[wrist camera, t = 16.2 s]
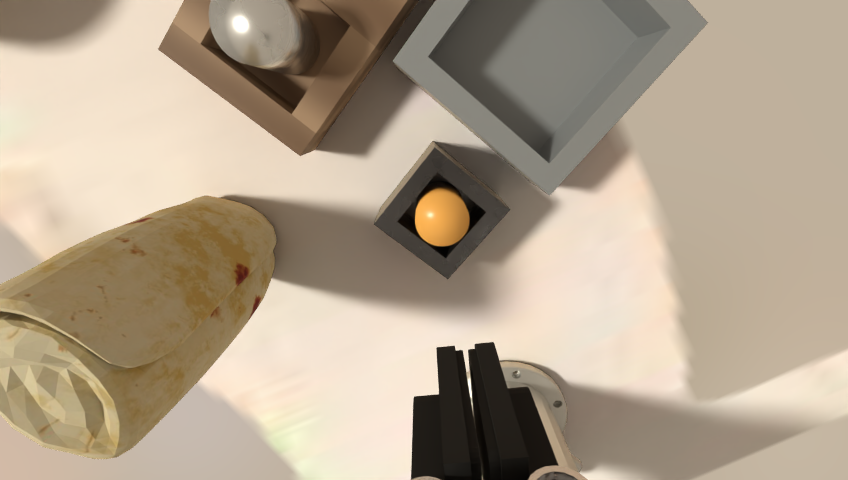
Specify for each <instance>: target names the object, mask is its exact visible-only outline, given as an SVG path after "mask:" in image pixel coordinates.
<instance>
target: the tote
mask: <svg viewBox="0 0 848 480" xmlns="http://www.w3.org/2000/svg"><path fill="white" fill-rule="evenodd" d="M706 24H707V21H706V20H705V19H704V18H703V17H702V16H701V15H700V14H699V13H698V11H697V10H696V9H695V8H694V7H693V6H692V5H691V4H690V2H689V1H688V0H436V1H435V2H434V3H433V5H432V6H431V8H430V9H429V10H428V12H427V13H426V15H425V16H424V17H423V19H422V20H421V22H420V23H419V24H418V26H417V27H416V29H415V30H414V32H413V33H412V34H411V36H410V37H409V39H408V40H407V41H406V43H405V44H404V46H403V47H402V48H401V50H400V51H399V53H398V54H397V55H396V57H395V58H394V60H393V62H394V64H395V65H396V67H397V68H398V69H399V70H400V71H401V72H402V73H404V74H405V75H406V76H407V77H408V78H410V79H411V80H412V81H413V82H414V83H415V84H417V85H418V86H419V87H420V88H421V89H422V90H424V91H425V92H426V93H427V94H428V95H429V96H431V97H432V98H433V99H434V100H435V101H436V102H438V103H439V104H440V105H441V106H442V107H443V108H445V109H446V110H447V111H448V112H449V113H450V114H452V115H453V116H454V117H455V118H456V119H457V120H459V121H460V122H461V123H462V124H463V125H464V126H466V127H467V128H468V129H469V130H470V131H471V132H473V133H474V134H475V135H476V136H477V137H478V138H480V139H481V140H482V141H483V142H484V143H485V144H487V145H488V146H489V147H490V148H491V149H492V150H494V151H495V152H496V153H497V154H498V155H499V156H501V157H502V158H503V159H504V160H505V161H507V162H508V163H509V164H510V165H511V166H512V167H514V168H515V169H516V170H517V171H518V172H519V173H521V174H522V175H523V176H524V177H525V178H526V179H528V180H529V181H530V182H531V183H532V184H534V185H535V186H537V187H538V188H540V189H541V190H542V191H544V192H545V193H547V194H548V195H551V193H552V192H553V191H554V190H555V189H556V188H557V187H558V186H559V185H560V184H561V183H562V181H563V180H564V179H565V178H566V177H567V176H568V175H569V174H570V173H571V172H572V171H573V169H574V168H575V167H576V166H577V165H578V164H579V163H580V162H581V161H582V160H583V159H584V157H585V156H586V155H587V154H588V153H589V152H590V151H591V150H592V149H593V148H594V147H595V145H596V144H597V143H598V142H599V141H600V140H601V139H602V138H603V137H604V136H605V135H606V133H607V132H608V131H609V130H610V129H611V128H612V127H613V126H614V125H615V124H616V123H617V121H618V120H619V119H620V118H621V117H622V116H623V115H624V114H625V113H626V112H627V111H628V109H629V108H630V107H631V106H632V105H633V104H634V103H635V102H636V100H638V99H639V97H640V96H641V95H642V94H643V93H644V92H645V91H646V90H647V89H648V88H649V86H650V85H651V84H652V83H653V82H654V81H655V80H656V79H657V78H658V77H659V76H660V75H661V73H662V72H663V71H664V70H665V69H666V68H667V67H668V66H669V65H670V64H671V63H672V61H673V60H674V59H675V58H676V57H677V56H678V55H679V53H681V52H682V51H683V49H684V48H685V47H686V46H687V45H688V44H689V43H690V42H691V41H692V40H693V39H694V37H695V36H696V35H697V34H698V33H699V32H700V31H701V30H702V29H703V28H704V27H705V25H706Z"/></svg>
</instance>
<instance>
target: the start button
mask: <svg viewBox="0 0 848 480" xmlns="http://www.w3.org/2000/svg"><path fill="white" fill-rule="evenodd" d="M415 225H416V229H417V231H418V233H419V235H420V236H421V237H422V238H423V239H424V240H425V241H426V242H428V243H430V244H432V245H435V246H449V245H452V244H454V243H456V242H458V241H459V240H460V239H461V238H462V237H463V236H464V235H465V233H466V232H467V230H468V227H469V213H468V210H467V208H466V205H465V203H464V201H463V199H462V196H461V194H460V192H459V191H458V190H457V189H456V188H455V187H454V186H452V185H451V184H448V183H445V182H435V183H431V184H429V185H427V186H426V187H425V188H424V189H423V190H422V191H421V193H420V194H419V195H418V197H417V201H416V213H415Z"/></svg>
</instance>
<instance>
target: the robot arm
mask: <svg viewBox="0 0 848 480" xmlns="http://www.w3.org/2000/svg"><path fill="white" fill-rule="evenodd" d="M468 354H469V367H470V371H469V372H467V373H466V368H465V362H464V356H463V350H459V351H455V346H447V347H437V365H438V382H439V394H438V395H427V396H416V397H414V403H413V437H412V470H411V480H587V479H586V478H585V477H583V476H582V475H581V474H579V471H580V470H581V468H582V463H581V461H580V460H579V459H578V458H576V457H575V456H573V455H572V454H571V453H570V451H569V449H568V446H567V444H566V442H565V439H564V437H563V435H562V433H563V431H564V428H565V426H566V423H567V406H566V402H565V399H564V397H563V394H562V393H561V391H560V389H559V387H558V385H557V384H556V383H555V382H554V380H553V379H552V378H551V377H550V376H549V375H547V374H546V373H544V372H543V371H542V370H540V369H538V368H535V367H533V366H531V365H527V364H524V363H520V362H509V361H505V362H500V361H499V358H498V355H497V351H496V348H495V345H494V343H493V342H490V343H479V344H475V349H470V350H468Z"/></svg>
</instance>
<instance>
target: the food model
mask: <svg viewBox="0 0 848 480" xmlns="http://www.w3.org/2000/svg"><path fill="white" fill-rule="evenodd" d="M275 245H276V236H275V231H274V227H273V226H272V225H271V224H270V222H269V221H268V220H267V219H266V218H265V216H264V215H262V214H261V213H259V212H258V211H257V210H255V209H254V208H252V207H250V206H247V205H245V204H242V203H239V202H235V201H231V200H227V199H222V198H217V197H211V196H202V197H198V198H195V199H193V200H191V201H189V202H186V203H184V204H180V205H177V206H173V207H170V208H166V209H162V210H159V211H157V212H154V213H152V214H149V215H147V216H144V217H142V218H140V219H138V220H136V221H133V222H131V223H128V224H125V225H123V226H120V227H117V228H115V229H112V230H109V231H106V232H103V233H101V234H98V235H96V236H94V237H92V238H90V239H88V240H85V241H83V242H81V243H79V244H77V245H75V246H73V247H71V248H69V249H66V250H64V251H62V252H60V253H58V254H57V255H55V256H53V257H52V258H50V259H48V260H46V261H45V262H43V263H41V264H39V265H38V266H36V267H34V268H32V269H30V270H28V271H26V272H25V273H23V274H21V275H19V276H17V277H15V278H13V279H10V280H8V281H6V282H4V283H2V284H0V415H1V416H2V417H3V418H4V419H5V420H6V421H7V422H8V423H9V425H10V426H11V427H12V428H13V429H15V430H17V431H18V432H20V433H21V434H23V435H25V436H26V437H28V438H30V439H31V440H33V441H34V442H36V443H38V444H39V445H41V446H42V447H45V448H50V449H54V450H59V451H63V452H68V453H72V454H76V455H80V456H84V457H88V458H92V459H109V458H114V457H118V456H119V455H121V454H123V453H125V452H126V451H128V450H130V449H131V448H133V447H134V446H135V445H136V444H137V443H138V442H139V441H140V440H141V439H142V438H143V437H144V436H145V435H146V434H147V433H148V432H149V431H150V430H151V429H152V428H153V427H154V426H155V425H156V424H157V423H158V422H159V421H160V420H161V419H162V418H163V417H164V416H165V415H166V414H167V413H168V412H169V411H170V410H171V409H172V408H173V407H174V406H175V405H176V404H177V403H178V402H179V401H180V400H181V399H182V398H183V397H184V395H185V394H186V393H187V392H188V391H189V390H190V389H191V388H192V387H193V386H194V385H195V384H196V383H197V382H198V381H199V380H200V378H201V377H202V376H203V375H204V374H205V373H206V372H207V371H208V369H209V368H210V367H211V366H212V365H213V364H214V362H215V361H216V360H217V359H218V358H219V357H220V355H221V354H222V353H223V352H224V351H225V350H226V348H227V347H228V346H229V345H230V344H231V342H232V341H233V340H234V339H235V337H236V336H237V335H238V334H239V332H240V331H241V330H242V329H243V327H244V326H245V324H246V323H247V322H248V320H249V319H250V318H251V316H252V315H253V313H254V312H255V310H256V309H257V307H258V306H259V304H260V303H261V301H262V300H263V298H264V296H265V293H266V291H267V289H268V286H269V283H270V281H271V277H272V274H273V271H274V267H275V256H274V253H273V249H274V247H275Z"/></svg>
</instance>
